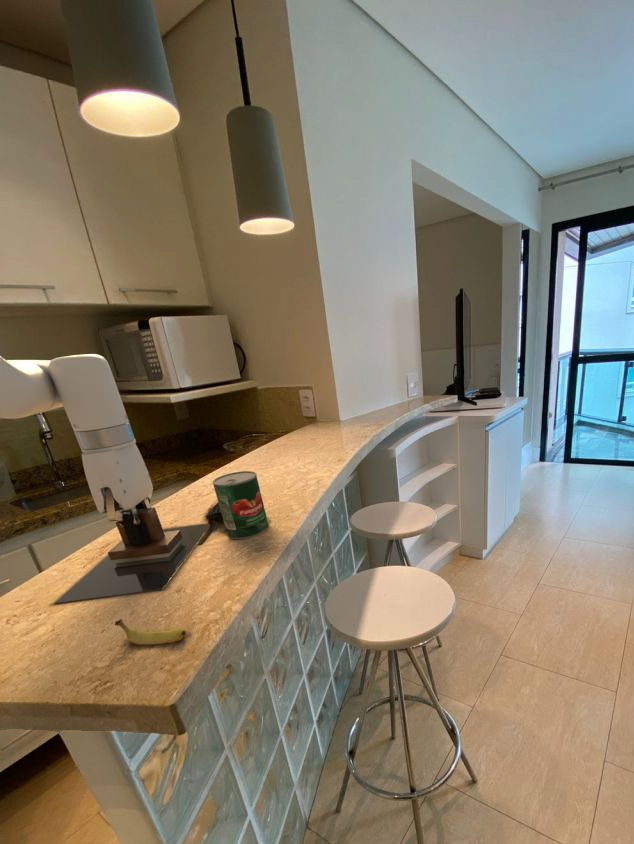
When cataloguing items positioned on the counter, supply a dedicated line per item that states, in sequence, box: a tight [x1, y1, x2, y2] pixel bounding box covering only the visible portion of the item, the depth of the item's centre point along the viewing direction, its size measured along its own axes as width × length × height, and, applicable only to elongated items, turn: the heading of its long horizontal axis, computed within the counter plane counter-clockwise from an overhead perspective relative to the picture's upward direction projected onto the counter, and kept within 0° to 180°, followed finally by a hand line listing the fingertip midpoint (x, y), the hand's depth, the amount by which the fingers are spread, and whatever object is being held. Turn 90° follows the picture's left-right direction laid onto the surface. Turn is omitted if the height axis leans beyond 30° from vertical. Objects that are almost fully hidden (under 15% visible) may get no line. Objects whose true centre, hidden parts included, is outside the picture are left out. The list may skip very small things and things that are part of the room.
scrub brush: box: [107, 506, 182, 563], centre depth 71 cm, size 10×6×8 cm, turn 94°
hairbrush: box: [205, 498, 223, 521], centre depth 94 cm, size 8×4×25 cm
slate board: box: [53, 522, 214, 605], centre depth 72 cm, size 16×24×1 cm, turn 4°
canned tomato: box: [212, 470, 270, 541], centre depth 78 cm, size 8×8×11 cm
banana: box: [114, 618, 186, 646], centre depth 49 cm, size 8×2×4 cm, turn 87°
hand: (145, 539), depth 72 cm, fingers closed on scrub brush, 2 cm apart
